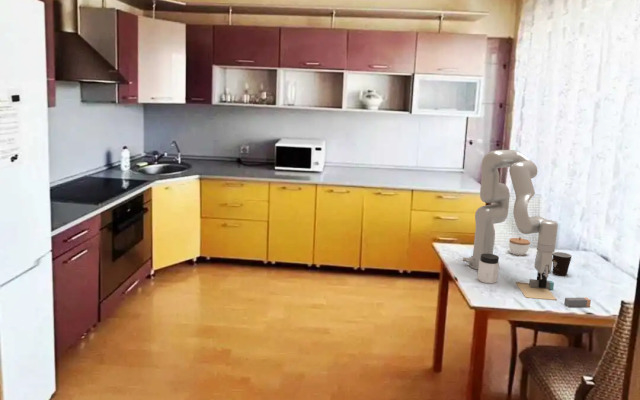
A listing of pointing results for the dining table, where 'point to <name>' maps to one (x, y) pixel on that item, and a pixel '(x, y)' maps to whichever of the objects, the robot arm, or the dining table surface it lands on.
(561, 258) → the coffee mug
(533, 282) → the marker
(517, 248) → the lidded jar
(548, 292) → the notepad
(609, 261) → the dining table surface
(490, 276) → the jar
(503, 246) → the dining table surface
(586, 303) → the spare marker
